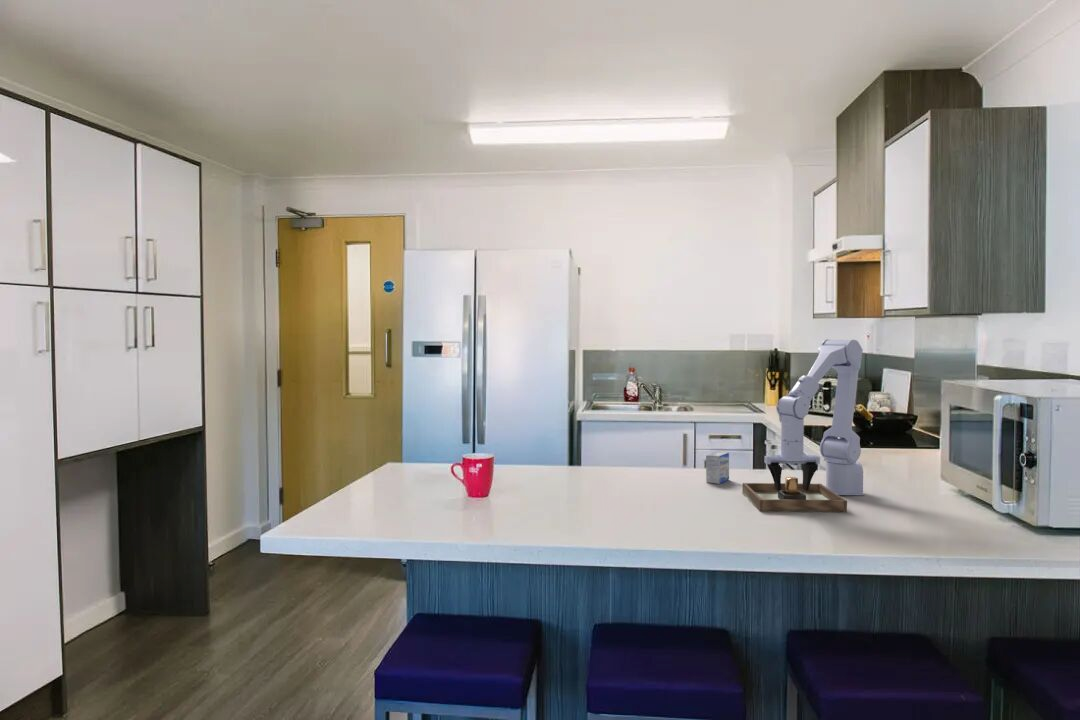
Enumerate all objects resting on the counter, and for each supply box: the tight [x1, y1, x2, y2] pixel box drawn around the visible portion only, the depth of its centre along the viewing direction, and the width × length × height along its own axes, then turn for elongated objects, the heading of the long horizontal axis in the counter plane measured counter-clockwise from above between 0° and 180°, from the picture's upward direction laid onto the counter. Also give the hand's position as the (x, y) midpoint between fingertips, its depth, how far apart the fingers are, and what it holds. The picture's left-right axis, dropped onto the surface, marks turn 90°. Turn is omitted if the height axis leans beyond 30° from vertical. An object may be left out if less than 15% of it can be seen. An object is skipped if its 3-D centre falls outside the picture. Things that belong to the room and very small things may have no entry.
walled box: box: [741, 482, 848, 513], centre depth 189 cm, size 22×20×3 cm
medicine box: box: [705, 451, 730, 485], centre depth 216 cm, size 8×4×9 cm, turn 143°
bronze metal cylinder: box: [784, 476, 799, 495], centre depth 189 cm, size 3×3×6 cm
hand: (791, 489), depth 189 cm, fingers open, 7 cm apart
